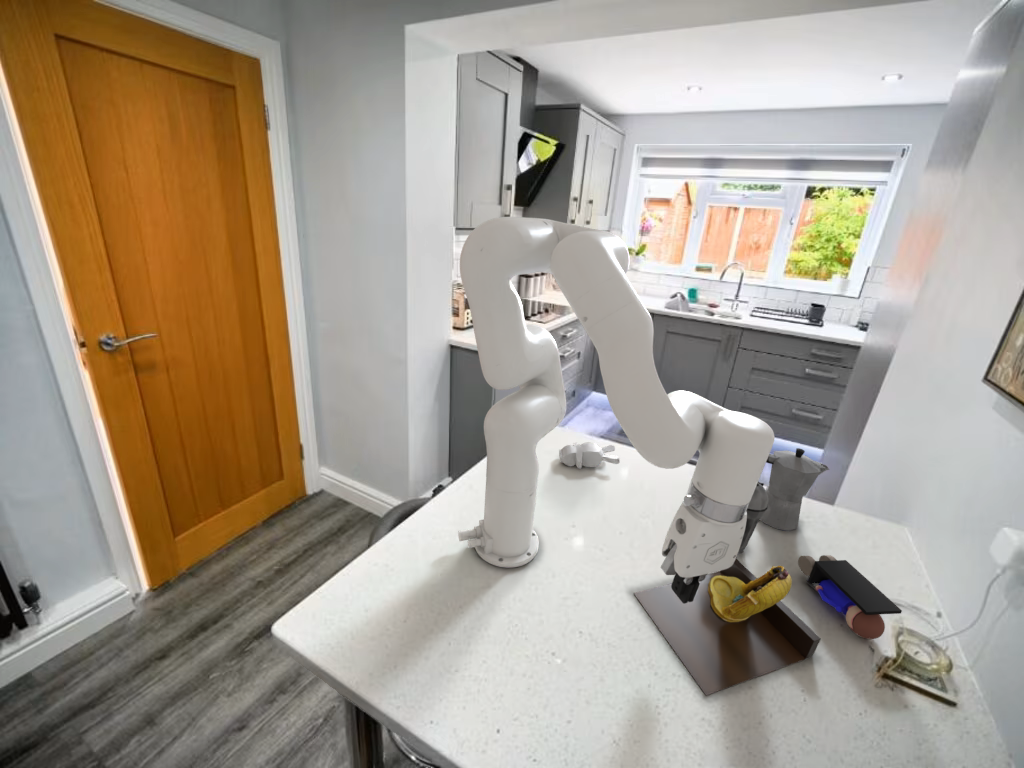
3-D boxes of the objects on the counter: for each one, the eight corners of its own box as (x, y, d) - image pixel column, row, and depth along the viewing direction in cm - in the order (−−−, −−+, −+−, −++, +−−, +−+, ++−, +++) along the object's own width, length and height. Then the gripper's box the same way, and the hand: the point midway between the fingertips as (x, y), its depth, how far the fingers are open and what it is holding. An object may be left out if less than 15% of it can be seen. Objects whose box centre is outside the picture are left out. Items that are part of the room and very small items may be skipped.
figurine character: (788, 580, 84) (854, 647, 70) (797, 546, 82) (868, 608, 67) (820, 579, 85) (892, 645, 70) (830, 546, 83) (906, 606, 68)
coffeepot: (798, 509, 103) (824, 443, 96) (816, 537, 94) (846, 466, 87) (729, 498, 105) (750, 432, 98) (740, 523, 96) (764, 453, 90)
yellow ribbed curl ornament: (782, 642, 70) (814, 570, 64) (742, 654, 67) (771, 581, 61) (729, 585, 80) (752, 519, 74) (693, 594, 77) (714, 527, 71)
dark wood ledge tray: (705, 695, 61) (712, 676, 60) (633, 593, 77) (637, 576, 75) (812, 656, 68) (821, 638, 66) (726, 569, 83) (731, 553, 82)
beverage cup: (750, 541, 91) (779, 459, 84) (752, 564, 85) (783, 478, 78) (713, 529, 94) (738, 448, 87) (712, 550, 88) (738, 466, 80)
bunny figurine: (557, 439, 118) (613, 436, 118) (558, 455, 120) (612, 453, 120) (561, 457, 109) (621, 455, 109) (561, 474, 111) (620, 472, 111)
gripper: (691, 525, 54) (655, 627, 61) (779, 509, 59) (737, 605, 66) (654, 488, 60) (626, 584, 68) (737, 476, 65) (702, 567, 73)
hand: (681, 594), depth 67 cm, fingers closed
